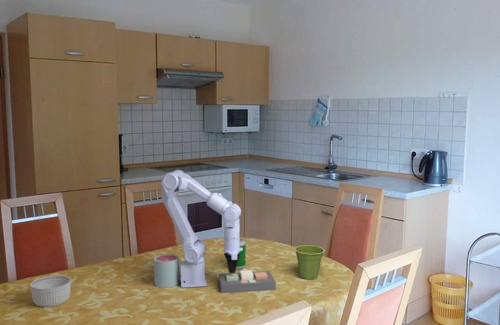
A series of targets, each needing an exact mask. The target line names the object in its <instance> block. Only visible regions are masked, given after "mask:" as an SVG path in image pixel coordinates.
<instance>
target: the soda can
mask: <svg viewBox="0 0 500 325" xmlns="http://www.w3.org/2000/svg"><path fill="white" fill-rule="evenodd" d="M240 248H243V251H240V252H239V255H240V258H239V260H238V262H237V265H236V270H235V271H242V270H243V269H244V268H246V265H247V242H246V240H244V239H243V238H241V237H240Z"/></svg>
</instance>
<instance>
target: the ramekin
mask: <svg viewBox="0 0 500 325" xmlns="http://www.w3.org/2000/svg"><path fill="white" fill-rule="evenodd" d="M71 285H72V278H71V277H70V276H67V275H61V274H59V275H56V274H55V275H47V276H43V277H39V278H36V279H34V280H32V282H30V284H29V289H30V293H31V298H32V301H33V303H34V304H35V306H37V307H42V308H43V307H44V308H48V307H49V308H50V307H55V306H58V305H59V306H60V305H62V304H64V303H66V302H67V301H68V299H69V298H70V296H71Z"/></svg>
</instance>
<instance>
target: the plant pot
mask: <svg viewBox="0 0 500 325" xmlns="http://www.w3.org/2000/svg"><path fill="white" fill-rule="evenodd" d="M294 251H295V253H296V259H297V266H298V273H299V277H300V278H301V279H306V280H315V279H317V278H318V277H319V271H320V268H321V263H322V258H323V255H324V253H325V249H324V248H323V247H321V246H318V245H312V244H310V245H309V244H306V245H304V244H302V245H298V246H295V247H294Z"/></svg>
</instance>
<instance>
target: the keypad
mask: <svg viewBox="0 0 500 325" xmlns="http://www.w3.org/2000/svg"><path fill="white" fill-rule="evenodd" d="M255 272H266V274H267V276H268V279H257V280H255V277H254V273H255ZM252 273H253V280H241V279H240V271H239V272H235V273H229V272H224V273H223V272H221V273H218V284H219V287H220V291H221V292H220V293H221V294H230V293H245V292H246V293H248V292H260V291H263V292H264V291H276V290H277V281H276V280H275V278H274V276H273V275H272V273H271V271H270V270H261V271H260V270H258V271H257V270H256V271H252ZM226 274H238V277H239V281H226Z"/></svg>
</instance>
